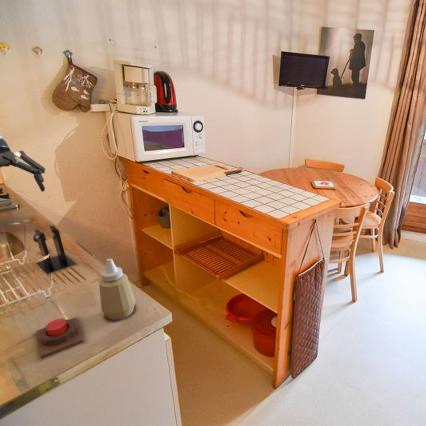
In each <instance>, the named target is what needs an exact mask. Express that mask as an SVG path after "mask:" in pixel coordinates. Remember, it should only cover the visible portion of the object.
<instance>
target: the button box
mask: <svg viewBox="0 0 426 426" xmlns="http://www.w3.org/2000/svg"><path fill="white" fill-rule="evenodd" d="M65 320H66V321H67V324H68V330H67V331H65V332H64V333H62V334H60V335H57V336H49V335H48V334H47V331H46V326H45V327H43V328H41V329H38V330H36V335H37V336H36V337H37V341H38V348H39V353H40V358H41V359H44V358H48V357H50V356H52V355H54V354H57V353H60V352H62V351H65V350H67V349H69V348H72V347H75V346H77V345H80V344H82V343H84V339H83V335H82V331H81V330H80V326H79V322H78V320H77V317H76V316H75V317H72V318H70V319H69V318H68V319H65Z"/></svg>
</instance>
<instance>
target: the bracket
mask: <svg viewBox="0 0 426 426" xmlns="http://www.w3.org/2000/svg"><path fill="white" fill-rule="evenodd" d="M49 230H52V232H53V235H54V237H53V238H52V240H53V243H54V247H55V251H56V254H57V255H56V256H53V257H51V256H49V258H47V259H45V260H43V259H42V260H40V261H41V262H40V261H37V262H38V263H37V262H35V264H36V265H37V266H38V267H39V268H40V269H41V270H42V271H43V272H44V273H45V274H46V275H49V274H52V273H55V272H58V271H60V270H63V269H66V268H67V269H68V268H69V267H72V266H75V265H77V263H76V262H74V261H73V260H72V259H71V258H70V257H69V256H67V255H66V252H65V248H64V244H63V241H62V238H61V233H60V229H58V228H57V227H56V226H54V225H50V226H49ZM33 231H34V235H36V236H35V237H36V240H37V241H38V243H37V244H38V247H39V248H38V249H39V250H40V251H39V252H40V255H41V257H42V256H46V255H48V254H49V255H50V252H49V249H48V245H47V241H45V238H44V235H43V233H42V231H41V230H39V229H35V230H33Z"/></svg>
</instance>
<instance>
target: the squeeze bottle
mask: <svg viewBox="0 0 426 426" xmlns="http://www.w3.org/2000/svg"><path fill="white" fill-rule="evenodd" d="M98 286H99V297H100V308H101V311H102V313H103V314H104V315H105V317H107V318H108V320H112V321H118V320H122V319H125V318H127V317H129V316H130V315H131V314H133V311H134V308H135V304H136V298H135V296H134V292H133V289H132V286H131V283H130V280H129V277H128V275H127V274H126V273H123V269H122V267H120V266H116V264H115V263H114V260H113V258H112V257H111V258H110V257H109V258H107V259H106V262H105V269H104V270H103V271H101V278H100V280H99V281H98Z"/></svg>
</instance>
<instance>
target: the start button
mask: <svg viewBox="0 0 426 426" xmlns="http://www.w3.org/2000/svg"><path fill="white" fill-rule="evenodd" d="M66 320H67V319H65V318H56V319H54V320H51V321H50V322H48V323H46V325H45V327H46V331H47V334H48V335H49V336H57V335H60V334H62V333H64V332H65V331H67V330H68V324H67V321H66Z"/></svg>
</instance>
